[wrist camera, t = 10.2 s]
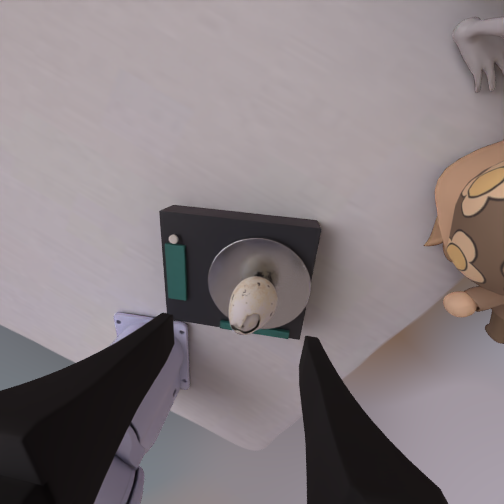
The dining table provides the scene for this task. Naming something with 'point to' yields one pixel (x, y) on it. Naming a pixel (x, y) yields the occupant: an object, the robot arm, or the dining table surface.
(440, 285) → the dining table surface
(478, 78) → the creature
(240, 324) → the egg
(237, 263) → the scale pan
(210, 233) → the scale
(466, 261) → the flower patterned turtle figurine
